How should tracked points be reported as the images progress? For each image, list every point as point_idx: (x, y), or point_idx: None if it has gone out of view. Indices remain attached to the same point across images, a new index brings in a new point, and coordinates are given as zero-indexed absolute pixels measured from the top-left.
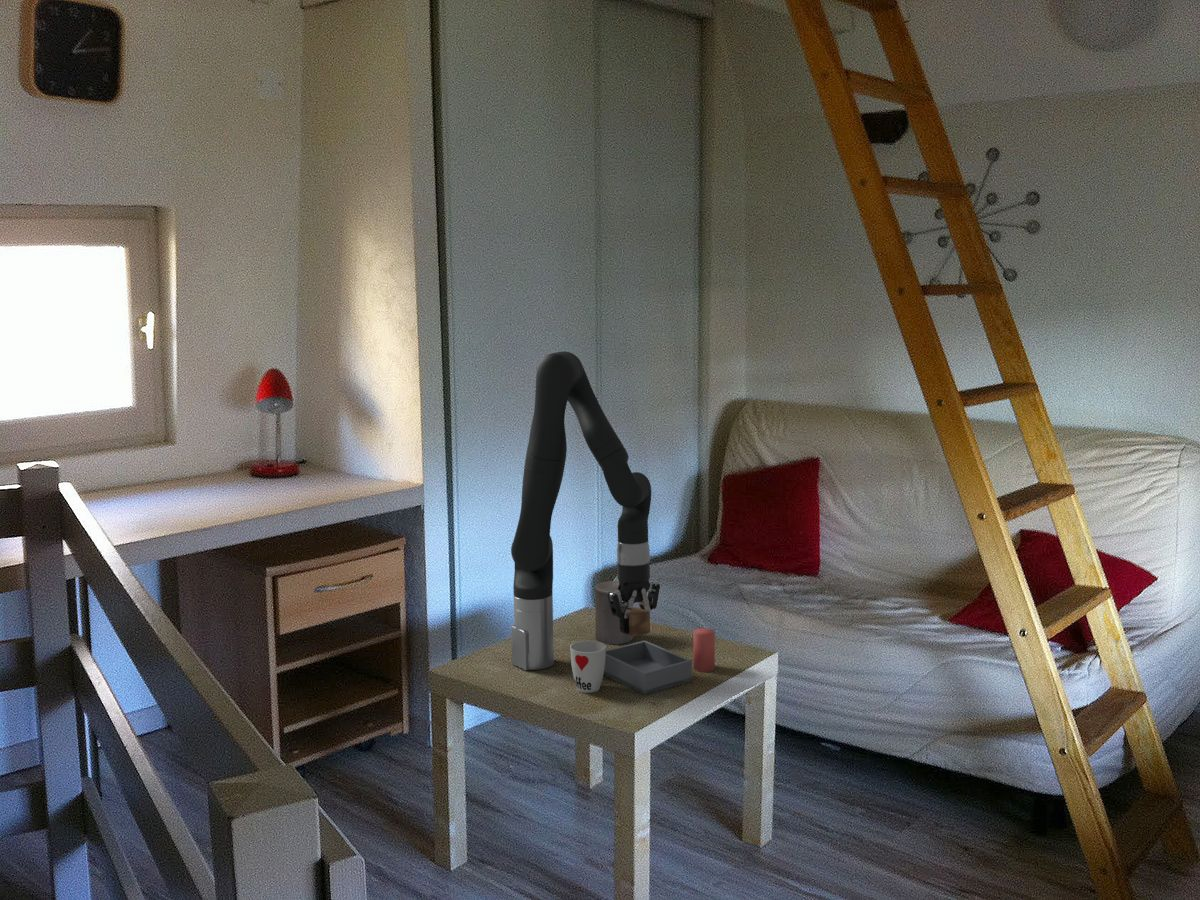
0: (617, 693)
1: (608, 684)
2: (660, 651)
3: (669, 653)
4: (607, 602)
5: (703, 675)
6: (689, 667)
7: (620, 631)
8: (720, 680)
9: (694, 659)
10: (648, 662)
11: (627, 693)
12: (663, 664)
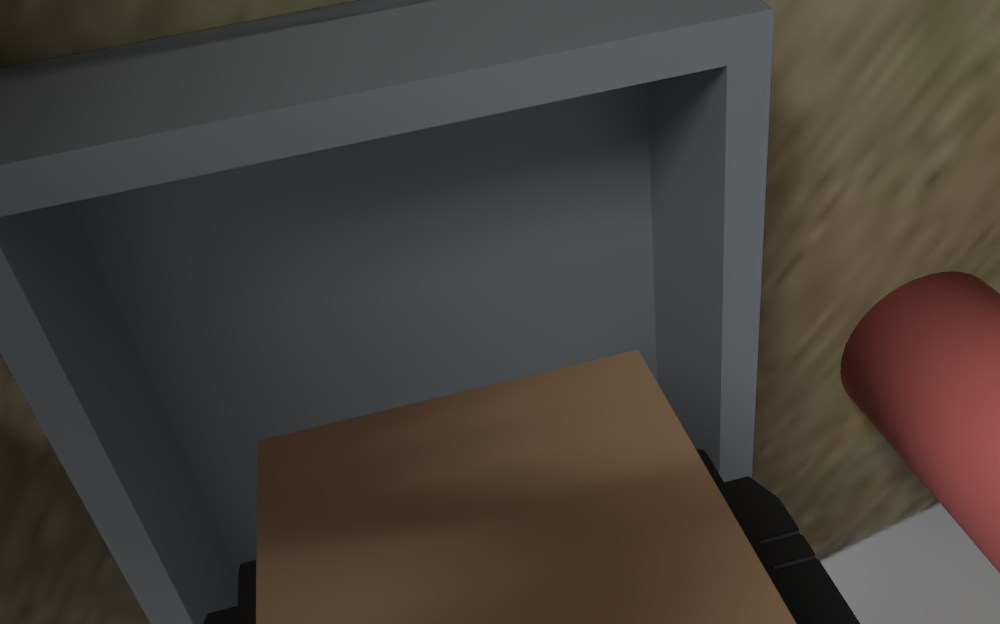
0: (41, 569)
1: (12, 395)
2: (710, 339)
3: (716, 468)
4: None
5: (813, 453)
6: None
7: (261, 457)
8: (830, 546)
9: (894, 403)
10: (599, 154)
11: (126, 585)
12: (661, 309)
